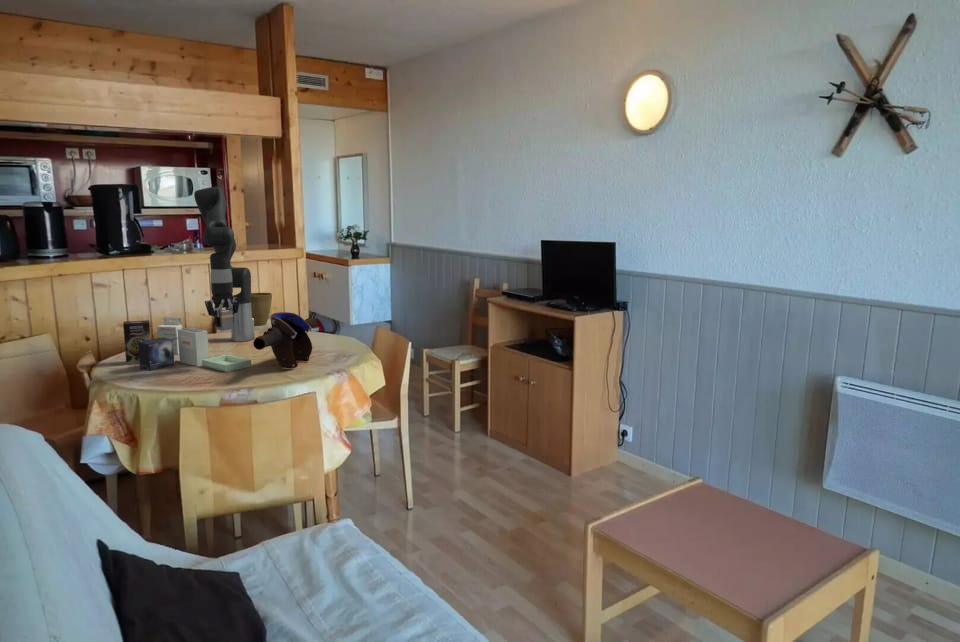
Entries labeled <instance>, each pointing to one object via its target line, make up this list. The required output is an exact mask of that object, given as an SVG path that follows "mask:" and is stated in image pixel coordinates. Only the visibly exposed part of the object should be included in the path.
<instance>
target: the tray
mask: <svg viewBox="0 0 960 642" xmlns="http://www.w3.org/2000/svg"><path fill="white" fill-rule="evenodd" d="M201 367H204V368H207V369H211V370H216V371H220V372H224V373H229V372H233V371H237V370H241V369H246V368H250V367H252V359H249V358H245V357H240V356H235V355H232V354H224V355H219V356H214V357H209V358H208V359H203V360H202V365H201Z"/></svg>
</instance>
